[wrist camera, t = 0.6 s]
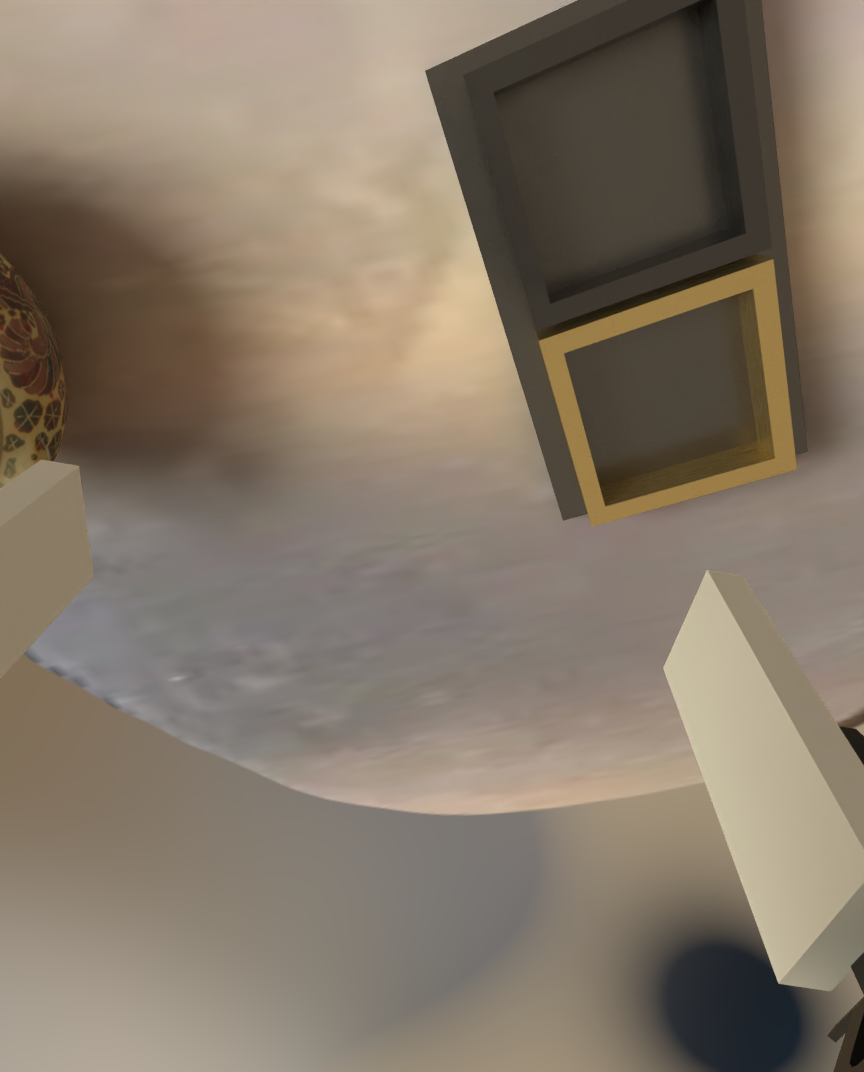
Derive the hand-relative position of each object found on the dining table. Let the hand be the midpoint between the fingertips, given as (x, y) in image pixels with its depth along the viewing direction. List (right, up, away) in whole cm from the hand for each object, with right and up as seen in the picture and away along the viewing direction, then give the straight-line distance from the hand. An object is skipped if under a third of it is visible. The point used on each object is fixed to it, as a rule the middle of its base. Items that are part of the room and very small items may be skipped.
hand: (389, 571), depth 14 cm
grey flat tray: (+11, +14, +20) cm, 27 cm away
